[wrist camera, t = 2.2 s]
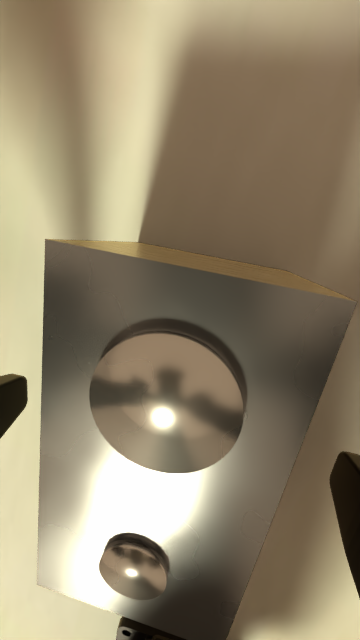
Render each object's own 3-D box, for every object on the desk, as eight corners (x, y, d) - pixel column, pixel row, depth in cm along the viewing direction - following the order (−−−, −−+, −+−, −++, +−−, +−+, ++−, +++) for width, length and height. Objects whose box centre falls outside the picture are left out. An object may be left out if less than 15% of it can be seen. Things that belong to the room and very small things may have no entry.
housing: (224, 481, 11) (220, 664, 6) (113, 448, 12) (31, 594, 7) (286, 270, 9) (363, 304, 4) (139, 242, 9) (37, 238, 4)
